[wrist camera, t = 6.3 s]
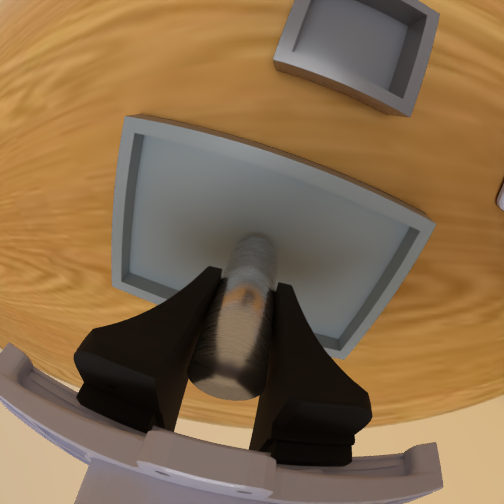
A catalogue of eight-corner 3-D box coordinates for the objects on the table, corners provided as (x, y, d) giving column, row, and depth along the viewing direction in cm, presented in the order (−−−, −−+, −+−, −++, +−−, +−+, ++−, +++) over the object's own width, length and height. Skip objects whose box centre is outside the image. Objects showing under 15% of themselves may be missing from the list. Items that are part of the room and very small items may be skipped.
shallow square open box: (415, 26, 9) (439, 14, 6) (387, 114, 12) (409, 117, 9) (309, -19, 8) (312, -44, 6) (275, 69, 11) (272, 59, 9)
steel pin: (283, 242, 14) (275, 368, 7) (271, 281, 16) (256, 406, 9) (235, 231, 14) (188, 347, 8) (227, 271, 16) (186, 389, 9)
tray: (424, 212, 14) (436, 224, 12) (341, 343, 20) (344, 359, 18) (140, 114, 13) (125, 115, 12) (123, 273, 19) (112, 286, 18)
